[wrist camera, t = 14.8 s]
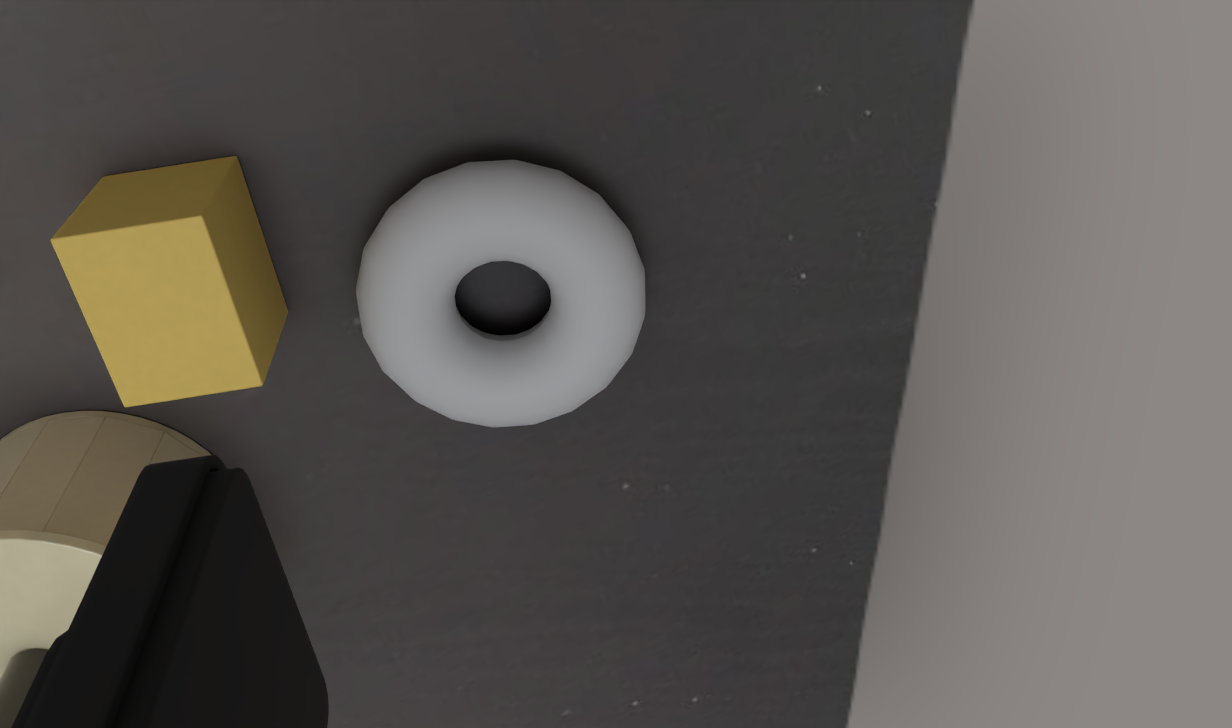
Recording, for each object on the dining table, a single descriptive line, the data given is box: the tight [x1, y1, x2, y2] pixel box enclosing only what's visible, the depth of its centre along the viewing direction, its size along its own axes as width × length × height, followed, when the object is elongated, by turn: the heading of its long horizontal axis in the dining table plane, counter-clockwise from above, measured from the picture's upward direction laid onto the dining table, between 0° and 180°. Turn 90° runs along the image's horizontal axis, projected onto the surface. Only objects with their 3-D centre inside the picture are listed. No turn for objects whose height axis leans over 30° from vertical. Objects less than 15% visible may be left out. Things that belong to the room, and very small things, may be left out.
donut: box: [356, 160, 645, 427], centre depth 38 cm, size 10×4×10 cm
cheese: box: [51, 156, 288, 407], centre depth 36 cm, size 6×4×5 cm
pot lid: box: [0, 530, 106, 728], centre depth 36 cm, size 11×11×5 cm
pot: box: [0, 411, 211, 546], centre depth 40 cm, size 10×10×7 cm
